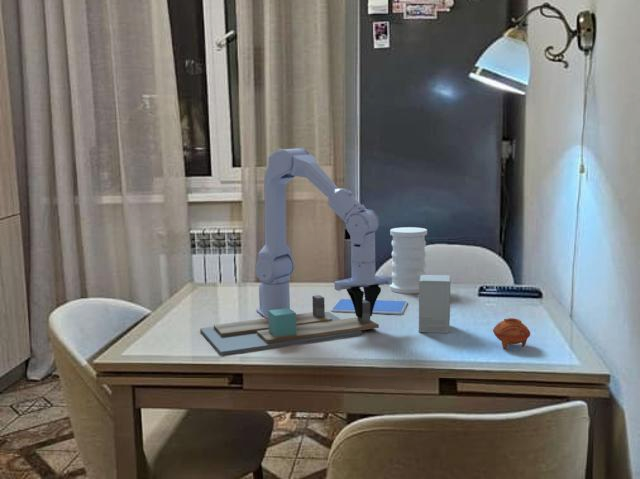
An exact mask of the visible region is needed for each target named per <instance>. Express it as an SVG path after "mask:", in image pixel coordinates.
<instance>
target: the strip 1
mask: <svg viewBox="0 0 640 479" xmlns="http://www.w3.org/2000/svg"><path fill="white" fill-rule="evenodd" d="M325 312H326V311H325V297H324V296H322V295H321V294H316V295H312V312H305V313H296V326H297V325H305V324H312V323H319V322H327V321H332V318H330V317H328V316H327V315H325ZM213 327H214V329H215V330H216V331H217V332H218V333H219V334H220V335H221V336H222V337H226V336H233V335H240V334H248V333H255V332H257V331H260V330H267V329H269V319H268V318H265V317H264V318H259V319H258V318H257V319H252V320H251V319H250V320H243V321H241V320H240V321H236V322H235V321H234V322H226V323H219V324H213Z"/></svg>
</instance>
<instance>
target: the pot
mask: <svg viewBox="0 0 640 479" xmlns="http://www.w3.org/2000/svg"><path fill="white" fill-rule="evenodd" d="M492 332H493V334H494V336H495V338H497V339H498V340H499V341H500V342H501V345H502V349H503V350H507V349H508V345H519V344H521V347H525V346H526V344H527V341H528V338H530V336H531V331H530V329H529V328H528V327H527V326H526V324H524V323H523V322H522V320H520V319H518V318H512V317H508V318H504V319H503V320H502V321H500V322H498V323H497V324H496V325H495V326H494V327H493V329H492Z"/></svg>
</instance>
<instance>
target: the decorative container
mask: <svg viewBox="0 0 640 479" xmlns="http://www.w3.org/2000/svg"><path fill="white" fill-rule="evenodd" d="M389 233H390V236H392V240H391V247H392V251H391V257H392V261H391V267H392V272H391V277H392V284H391V285H388V286H389V287H388V288H389V291H390V292H393V293H397V294H411V295H412V294H419V280H420V276H421V275H427V274H426V271H425V268H426V266H427V263H426V261H425V259H426V255H427V253H426V248H425V247H426V245H427V242H426V240H425V236H427V235H428V229H427V228H423V227H415V226H413V227H412V226H408V227H407V226H406V227H405V226H404V227H394V228H390V230H389Z"/></svg>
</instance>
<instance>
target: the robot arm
mask: <svg viewBox="0 0 640 479" xmlns="http://www.w3.org/2000/svg"><path fill="white" fill-rule="evenodd" d="M267 159H268V164H267V165H268V166H267V169H266V171H265V174H264V178H263V179H264V182H263V183H264V184H263V185H264V190H263V192H264V194H263V196H264V198H263V199H264V246H263V247H262V248H261V249H260V250H259V251H258V253H257V262H256V264H255V269H254V271H255V274H256V277H257V278H258V279H259V282H260V284H259V286H258V295H259V296H258V298H259V299H258V300H259V307H258V308H256V310H255V311H256V312H258V313H259V314H261V315H262V316H263V317H264V318H268V310H276V309H284V308H289V309H291V304H290V303H291V302H290V301H291V300H290V298H291V296H290V294H291V293H290V279H291V275H292V274H293V273H294V270H295V261H294V259H293V256H292V249H291V248H290V247H289V246H288V245H287V203H286V202H287V200H286V198H287V192H286V191H287V190H286V188H287V184H288V183H290V182H291V180H292V179H294V178H295V177H301V178H305V179H307V180H308V181H309V182H310V183H311V184H312V185H313V186H315V188H317V189H318V190H319V191H320V192H321V193H322V194H323V195H324V196H325V197H327V198H328V199H327V200H328V201H327V202H328V204H327V205H328V206H329V208H331V209H332V210H333V211H334V212H335V213H336V215H337V216H338V217H339V218H340V219H341V220H342V221H343V222H344V223H345V228H346V231H347V234H349V236H350V237H349V239H350V243H351V244H350V251H351V252H350V253H351V258H350V260H351V262H350V265H351V277H350V278H346V279H342V280H341V279H340V280H335V281H334V285H333V286H334V290H336V291H339V292H340V291H342V290H346V292H347V294H348V296H349V298H350V299H351V300H352V302H353V305H354V309H355V313H354V314H355V317H356V318H357V317H359V318H362V313H363V312H362V302H363V300H366V301H368V302H370V317H372V316H373V314H372V312H373V308H374V305H375V302H376V300H378V297H379V296H380V294H381V292H382V287H380V286H383V285H387V286H389V285H391V284H392V283H393V278H392V275H376V231H377V230H378V229H379V227H380V218H379V217H378V215H377V213H376V212H375V211H374V210H372V209H367V208H366V207H365V205H364V204H361V203H360V202H359V201H358V200H357V199H356V198H355V197H354V196H353V194H354V193H353V192H352V191H351V190H350V189H347V188H339V187H338V186H337V185H336V184H335V183H334V182H333V180H332V179H331V177H329V175H328V174H327V173H326V172H325V171H324V169H323V168H321V166H320V164H318V163H317V161H316V158H315V156H313V155H312V154H310V152H309V151H308V150H307V149H306V148H304V147H296V148H286V149H282V148H279V149H276V150H275V151H273V153H271V154H270V156H268V158H267ZM362 288H363V290H362Z"/></svg>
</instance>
